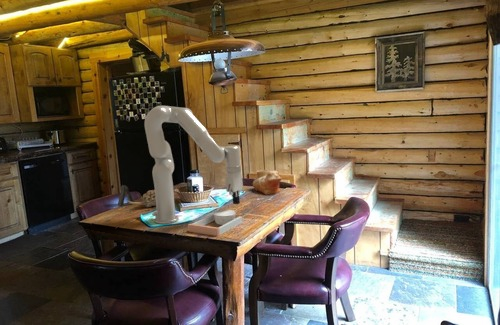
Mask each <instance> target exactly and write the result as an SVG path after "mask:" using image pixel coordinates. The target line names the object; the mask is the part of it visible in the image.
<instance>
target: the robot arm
mask: <svg viewBox="0 0 500 325" xmlns="http://www.w3.org/2000/svg"><path fill="white" fill-rule="evenodd" d="M163 123H174V124H178V125H180V127H181V128H183V130H184V131H185V132H186V133H187V134H188V135H189V136H190V137H191V139H192V141H194V142H195V144H196V145H197V146H198V147H199V148H200V149H201V151H202V152H203V153H204V154H205V155H206V157H208V158H209V159H210V160H211V161H212V162H213V163H216V164H219V163H222V162H223V161H224V160H225V168H226V175H225V188H226V189H225V191H226V192H227V193H228V195H230V196H231V197H232V204H234V205H239V204H240V193H241V192H242V189H243V187H244V183H243V182H244V180H243V176H242V175H243V174H242V166H241V155H240V154H241V153H240V151H241V150H240V147H239V146H238V145H228V146H219V145H218V144H217V143H216V141H214V139H213V138H212V136H211V135H210V133H209V131H208V129H207V128H206V127H205V126H204V125H203V123H201V122H200V121H199V119H198V118H197V117H196V116H195V115H194V113H193V111H192V110H191V109H190V108H189V107H179V106H172V105H171V106H170V105H158V106H157V105H156V106H155V107H153V108H152V109H151V110H149V111H148V112H147V114H146V116H145V119H144V130H145V135H146V140H147V141H146V142H147V144H148V145H147V146H148V151H149V154H150V156H151V158H153V159H154V161H155V162H154V163H155V164H154V166H153V167H152V180H153V185H154V190H155V199H156V205H155V207H156V208H155V210H154V211H153V212H152V213H151V215H152V216H154V220H153V222H154V223H155V224H161V225H163V224H164V225H166V224H172V223H175V222H177V221H178V220H179V216H178V215H176V206H175V195H174V194H175V193H174V192H175V191H174V182H173V172H174V171H175V163H174V158H173V154H172V149H171V145H170V143H169V142H168V141H167V140H165V139H166V138H165V135H164V131H163V128H162V124H163Z"/></svg>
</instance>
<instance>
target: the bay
mask: <svg viewBox="0 0 500 325" xmlns="http://www.w3.org/2000/svg"><path fill="white" fill-rule="evenodd" d="M214 221H215V218H214V213H212V214H210V215H207V216H205V217H203V218H202V219H199V220H196V221H195V222H193V223H188V224H187V228H188V229H187V230H188V232H189V233H195V234H202V235H209V236H214V237H220V236H221V235H222V234H224V233H226V232H228V231H229V230H230V231H231V229H234V228H235V227H237V226H239V225H241V224H243V216H240V215H239V216H238V217H235V219H234V220H232V221H230V222H228V223H226V224H224V225H219V227H215V226H208V224H210V223H212V222H214Z"/></svg>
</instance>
